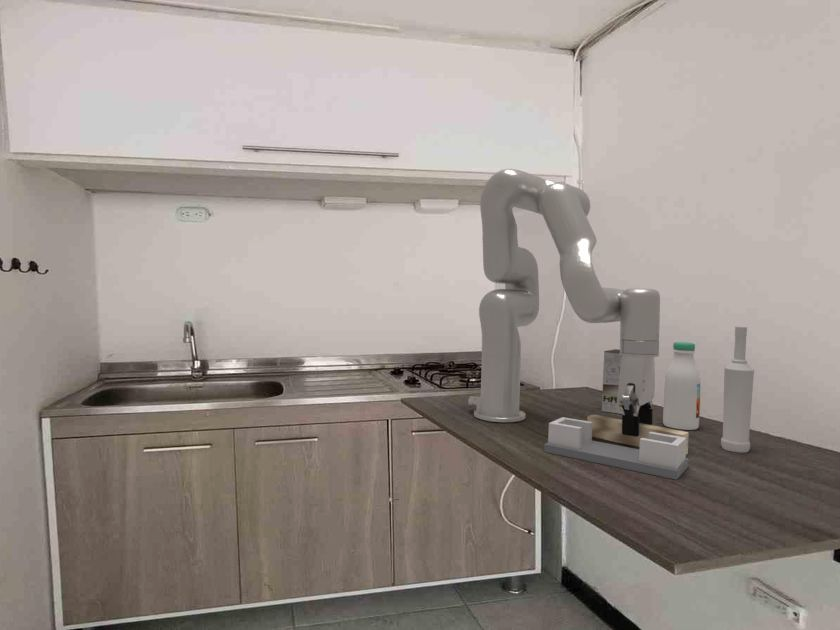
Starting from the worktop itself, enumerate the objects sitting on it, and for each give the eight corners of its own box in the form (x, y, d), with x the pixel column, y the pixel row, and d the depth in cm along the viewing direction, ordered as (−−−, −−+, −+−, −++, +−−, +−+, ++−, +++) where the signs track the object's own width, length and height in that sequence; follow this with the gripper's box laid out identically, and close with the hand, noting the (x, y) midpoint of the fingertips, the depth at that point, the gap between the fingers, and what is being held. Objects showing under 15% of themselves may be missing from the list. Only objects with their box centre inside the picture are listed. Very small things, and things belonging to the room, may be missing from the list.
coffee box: (626, 415, 140) (628, 353, 140) (601, 411, 144) (603, 351, 143) (635, 409, 148) (637, 350, 147) (611, 406, 152) (613, 348, 151)
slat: (586, 436, 120) (587, 416, 119) (593, 434, 122) (594, 414, 122) (682, 457, 105) (683, 434, 105) (687, 454, 108) (688, 432, 107)
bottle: (754, 454, 108) (760, 328, 107) (725, 451, 109) (731, 327, 108) (744, 446, 113) (750, 326, 112) (717, 444, 114) (722, 325, 113)
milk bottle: (690, 432, 124) (694, 345, 123) (656, 425, 130) (660, 342, 129) (704, 427, 129) (708, 343, 128) (671, 421, 135) (674, 340, 134)
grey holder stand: (544, 451, 107) (544, 423, 106) (562, 442, 114) (563, 416, 113) (676, 479, 92) (678, 447, 92) (688, 466, 99) (689, 436, 99)
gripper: (632, 344, 122) (631, 420, 122) (606, 350, 108) (605, 436, 109) (668, 346, 117) (667, 425, 118) (646, 353, 103) (644, 442, 104)
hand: (637, 430), depth 113 cm, fingers open, 9 cm apart
